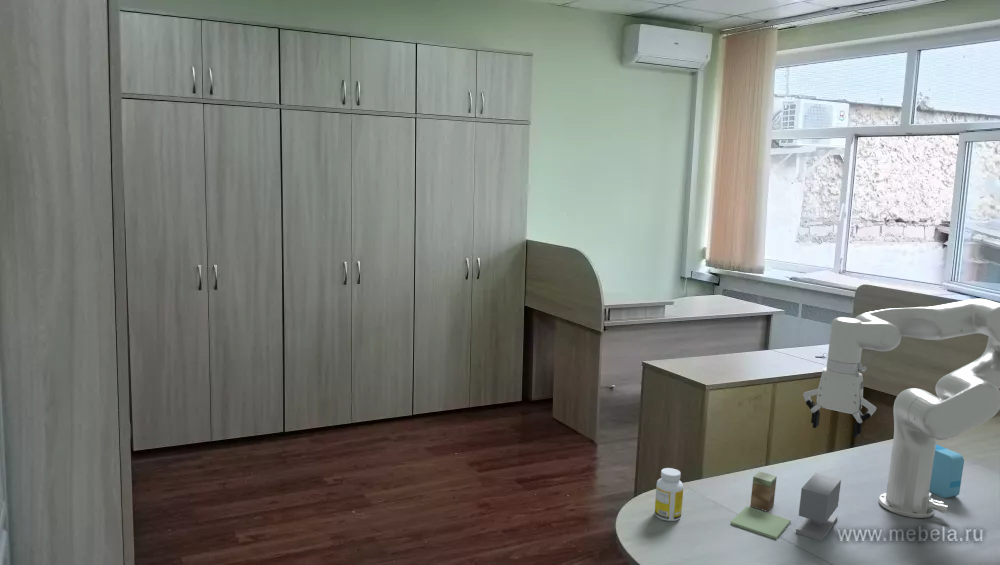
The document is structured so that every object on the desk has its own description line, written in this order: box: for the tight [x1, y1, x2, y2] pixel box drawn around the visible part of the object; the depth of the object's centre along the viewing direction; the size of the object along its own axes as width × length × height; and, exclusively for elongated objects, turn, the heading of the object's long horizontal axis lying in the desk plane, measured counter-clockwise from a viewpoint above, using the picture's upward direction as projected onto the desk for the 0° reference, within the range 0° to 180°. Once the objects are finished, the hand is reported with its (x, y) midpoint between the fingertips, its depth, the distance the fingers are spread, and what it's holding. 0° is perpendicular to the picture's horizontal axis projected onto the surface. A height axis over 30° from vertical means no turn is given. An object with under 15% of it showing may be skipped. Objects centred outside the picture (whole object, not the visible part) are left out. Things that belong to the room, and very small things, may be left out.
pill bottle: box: [654, 467, 684, 522], centre depth 181 cm, size 6×6×12 cm
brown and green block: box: [750, 471, 777, 512], centre depth 189 cm, size 4×4×8 cm
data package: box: [929, 444, 965, 499], centre depth 202 cm, size 12×4×12 cm, turn 20°
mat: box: [730, 506, 792, 540], centre depth 180 cm, size 11×11×1 cm
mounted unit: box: [795, 472, 842, 542], centre depth 179 cm, size 6×14×11 cm, turn 142°
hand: (835, 431), depth 188 cm, fingers open, 9 cm apart
